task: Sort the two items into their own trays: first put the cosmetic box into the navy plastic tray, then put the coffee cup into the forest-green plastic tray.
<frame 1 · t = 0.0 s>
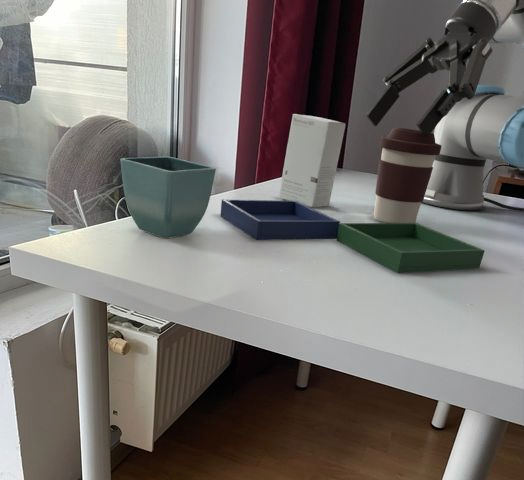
hand: (394, 125, 92), 15 cm above the table, tool tilted 35°, fingers open, 13 cm apart
navy tray: (277, 227, 84), on the table
coffee cup: (393, 222, 97), on the table
green tray: (405, 254, 78), on the table
cosmetic box: (305, 203, 104), on the table
flower pot: (166, 234, 74), on the table
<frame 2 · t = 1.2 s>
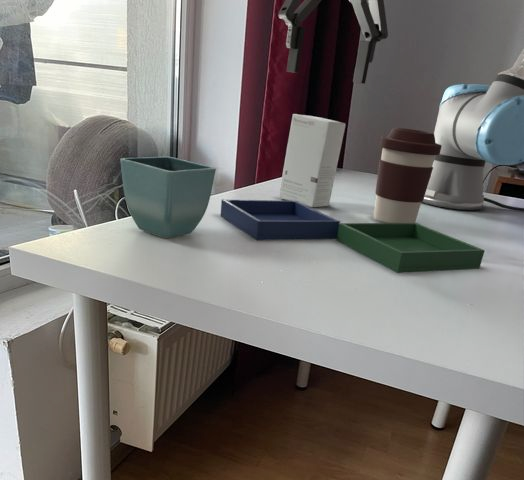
hand: (326, 78, 94), 21 cm above the table, tool pointing down, fingers open, 13 cm apart
nothing on the table moved.
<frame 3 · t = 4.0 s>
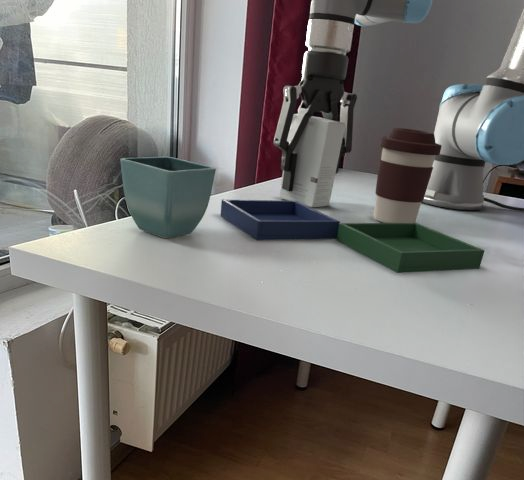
hand: (306, 190, 103), 2 cm above the table, tool pointing down, fingers closed on cosmetic box, 8 cm apart
cosmetic box: (305, 203, 104), on the table, touching gripper
everything else where it was.
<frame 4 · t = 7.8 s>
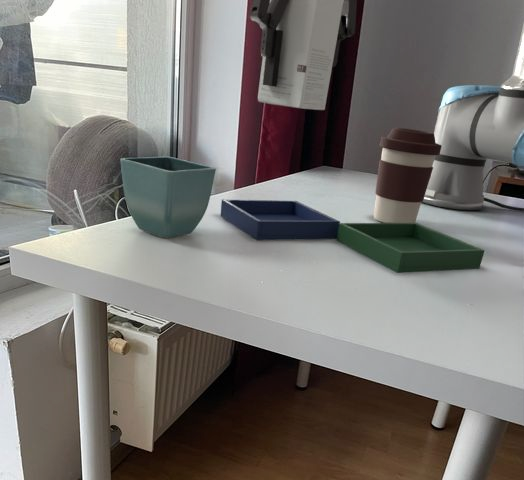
hand: (295, 88, 76), 19 cm above the table, tool pointing down, fingers closed on cosmetic box, 7 cm apart
cosmetic box: (292, 108, 78), point 17 cm above the table, touching gripper
everything else where it was.
when the fingers open (3 cm above the table, at t = 11.7 s): cosmetic box stays where it is, resting on navy tray.
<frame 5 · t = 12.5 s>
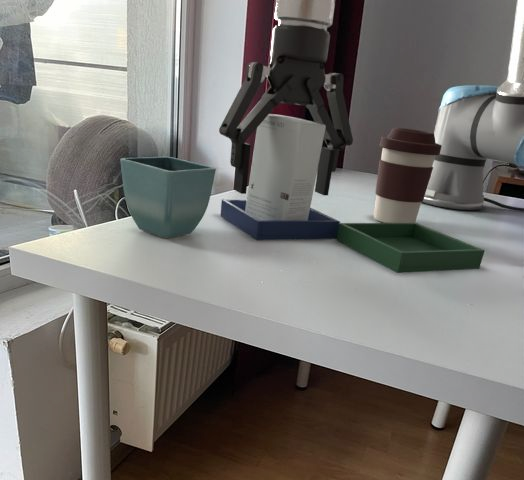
hand: (281, 192, 81), 5 cm above the table, tool pointing down, fingers open, 13 cm apart
cosmetic box: (276, 224, 84), resting on navy tray
everything else where it was.
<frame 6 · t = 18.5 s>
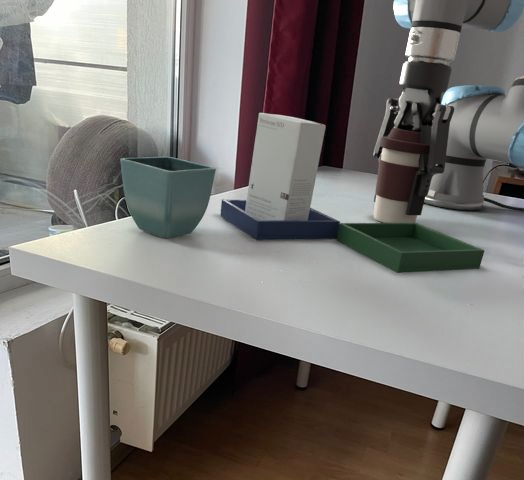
hand: (396, 208, 96), 2 cm above the table, tool pointing down, fingers closed on coffee cup, 8 cm apart
coffee cup: (393, 222, 97), on the table, touching gripper
everything else where it was.
when the fingers open (3 cm above the table, at t = 26.5 s): coffee cup stays where it is, resting on green tray.
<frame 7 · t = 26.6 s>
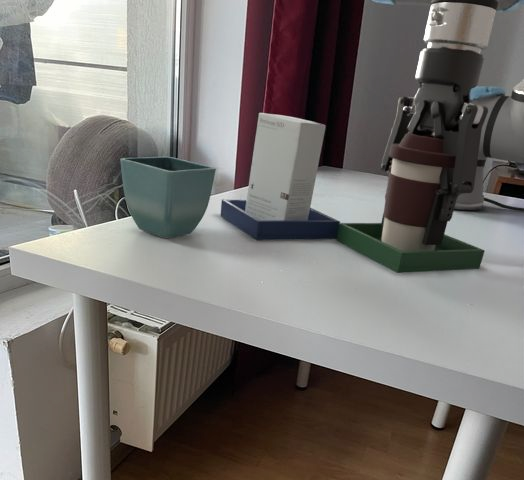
hand: (409, 234, 77), 3 cm above the table, tool pointing down, fingers open, 8 cm apart
coffee cup: (405, 251, 78), resting on green tray
everything else where it was.
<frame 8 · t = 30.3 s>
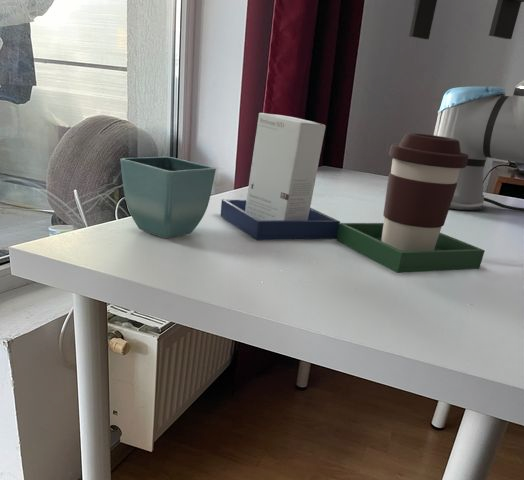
hand: (455, 38, 66), 27 cm above the table, tool pointing down, fingers open, 13 cm apart
nothing on the table moved.
at the end: cosmetic box inside the target area in the navy tray (0.2 cm from its centre), point 0.4 cm above the navy tray's base; coffee cup inside the target area in the green tray (0.1 cm from its centre), point 0.4 cm above the green tray's base; coffee cup tilted 0° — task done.
